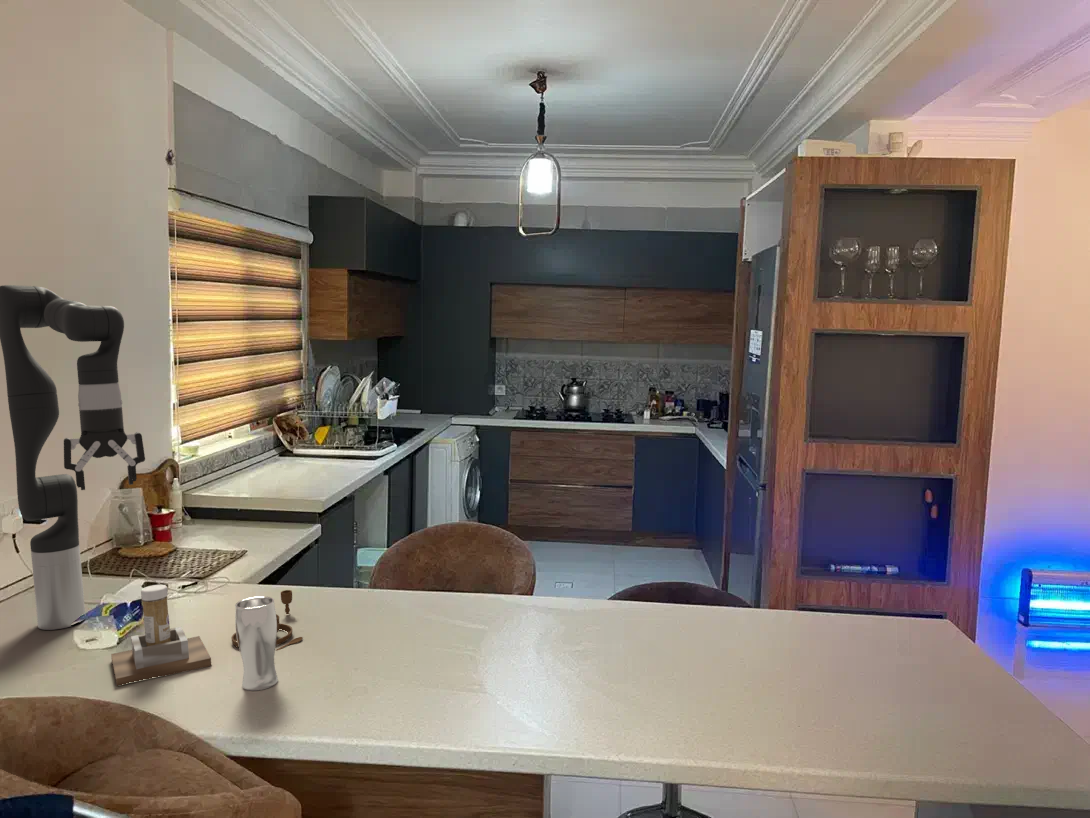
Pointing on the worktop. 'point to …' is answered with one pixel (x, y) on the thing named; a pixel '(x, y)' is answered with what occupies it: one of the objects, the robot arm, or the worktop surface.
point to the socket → (159, 657)
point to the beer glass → (257, 641)
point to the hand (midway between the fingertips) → (107, 486)
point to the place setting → (286, 599)
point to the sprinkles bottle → (156, 614)
